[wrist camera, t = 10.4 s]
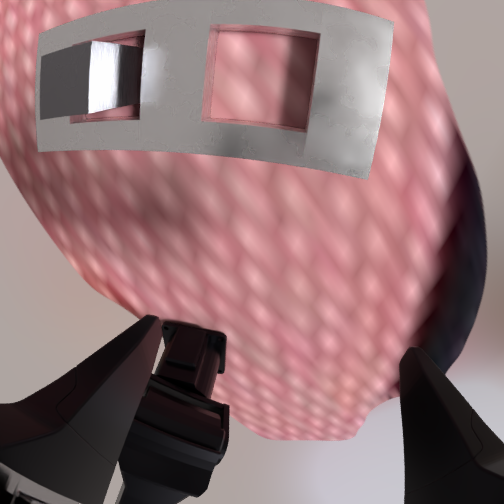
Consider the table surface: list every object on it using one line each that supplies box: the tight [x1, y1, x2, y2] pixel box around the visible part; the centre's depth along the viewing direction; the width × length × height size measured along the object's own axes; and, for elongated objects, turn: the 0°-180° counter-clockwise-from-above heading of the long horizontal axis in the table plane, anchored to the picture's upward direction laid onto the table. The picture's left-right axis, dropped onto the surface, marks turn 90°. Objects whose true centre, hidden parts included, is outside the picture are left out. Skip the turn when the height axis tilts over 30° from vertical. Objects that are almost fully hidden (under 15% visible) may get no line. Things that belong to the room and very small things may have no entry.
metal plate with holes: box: [35, 0, 394, 180], centre depth 14 cm, size 10×24×2 cm, turn 84°
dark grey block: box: [40, 41, 144, 120], centre depth 13 cm, size 4×4×6 cm
